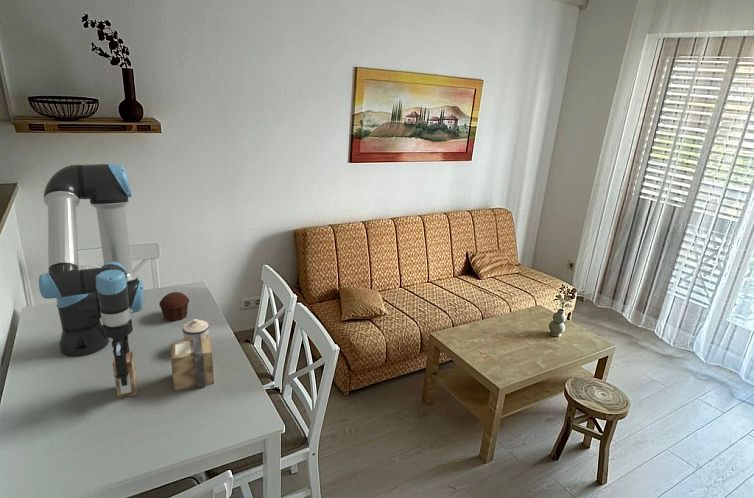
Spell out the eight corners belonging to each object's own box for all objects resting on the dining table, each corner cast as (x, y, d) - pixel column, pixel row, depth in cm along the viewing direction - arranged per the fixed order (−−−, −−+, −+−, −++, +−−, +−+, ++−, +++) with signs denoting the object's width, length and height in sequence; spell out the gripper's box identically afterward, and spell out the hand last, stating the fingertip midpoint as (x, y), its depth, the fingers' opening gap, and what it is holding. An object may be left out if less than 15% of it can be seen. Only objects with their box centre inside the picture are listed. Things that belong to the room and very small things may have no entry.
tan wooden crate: (174, 393, 144) (170, 358, 139) (174, 371, 154) (170, 338, 149) (214, 385, 148) (212, 351, 144) (211, 365, 159) (209, 332, 154)
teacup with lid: (211, 352, 166) (209, 324, 162) (184, 356, 163) (181, 327, 159) (209, 335, 176) (207, 308, 172) (184, 338, 173) (181, 311, 169)
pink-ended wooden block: (117, 398, 140) (112, 364, 136) (119, 386, 145) (114, 354, 141) (136, 394, 142) (131, 361, 138) (137, 383, 147) (132, 351, 143)
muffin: (183, 324, 183) (181, 302, 179) (155, 322, 183) (153, 300, 179) (194, 310, 194) (193, 289, 191) (168, 308, 194) (166, 287, 191)
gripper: (129, 335, 128) (138, 402, 136) (133, 305, 144) (141, 366, 153) (98, 339, 125) (110, 407, 133) (106, 308, 142) (116, 370, 150)
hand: (127, 385), depth 143 cm, fingers closed on pink-ended wooden block, 6 cm apart
